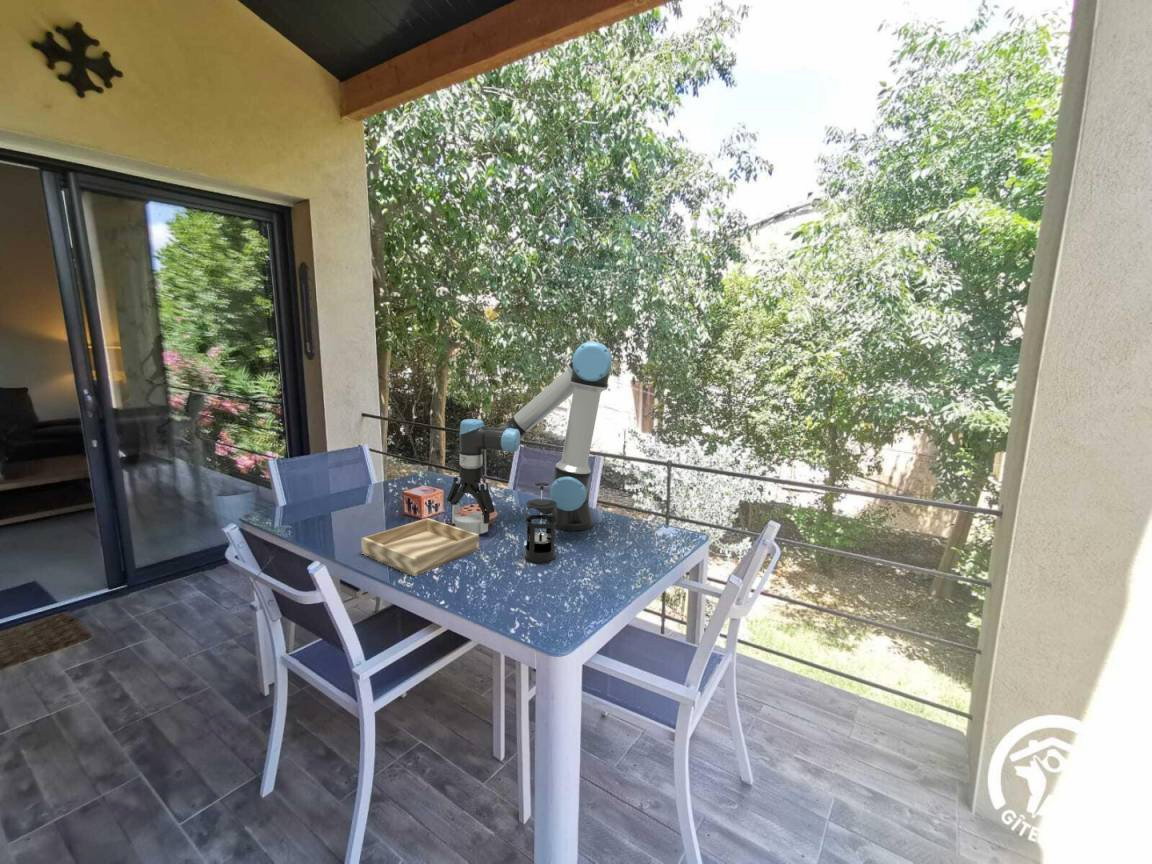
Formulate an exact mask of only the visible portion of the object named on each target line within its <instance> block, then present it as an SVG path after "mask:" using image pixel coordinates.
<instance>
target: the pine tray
mask: <svg viewBox="0 0 1152 864" xmlns="http://www.w3.org/2000/svg"><path fill="white" fill-rule="evenodd" d="M360 542H361V555H362V554H364V555H363V556H365V555H366V556H365V557H367V556H369V557H371V558H370V559H372V558H373V559H372V560H374V559H375V561H376V560H377V562H379V563H381V564H383V563H384V565H385V566H388V567H390V566H391V568H392V567H393V569H395V570H397V571H399V570H400V572H402V573H404V572H405V573H404V574H406V573H407V574H406V575H409V574H410V575H409V576H411V575H412V577H413V576H415V577H417V576H420V575H422V574H425V573H427V572H430V571H431V569H432V570H434V569H436V567H437V568H439V567H442V566H443V565H446V564H448V563H450V562H453V561H456V560H459V559H461V558H463V557H465V556H468V555H470V554H473V553H474V552H478V551H479V549H480V534H476V533H473V532H469V531H466V530H463V529H460V528H457V527H456V526H455V525H452V524H447V523H445V522H442V521H438V520H435V519H432V518H429V517H426V518H423V519H420V520H416V521H412V522H409V523H406V524H403V525H399V526H396V527H392V528H389V529H387V530H382V531H380V532H377V533H373V534H370V535H366V536H363V537H361V538H360ZM369 557H368V558H369ZM441 565H442V566H441ZM426 571H427V572H426ZM424 572H425V573H424ZM421 573H422V574H421ZM419 574H420V575H419Z"/></svg>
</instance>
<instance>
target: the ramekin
mask: <svg viewBox="0 0 1152 864" xmlns="http://www.w3.org/2000/svg"><path fill="white" fill-rule="evenodd" d="M472 512H473V513H472V514H469V515H466V516H461V514H462V513H463V512H460V514H457V515H455V516H454V521H455V524H454V527H457V528H460V529H463V530H466V531H469V532H473V533H476V534H479V535H481V534H482V533H480V530H481V514H482V513H483V512H482V511H472Z"/></svg>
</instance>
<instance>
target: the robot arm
mask: <svg viewBox="0 0 1152 864" xmlns="http://www.w3.org/2000/svg"><path fill="white" fill-rule="evenodd" d="M612 363H613V357H612V353H611V351H610V350H609V348H608V347H607V346H605V345H604V344H603V343H601V342H598V341H587V342H584V343H582V344H580V345H579V346H578V347H577V349H576V350H575V351H574V354H573V356H572V361H570V363H568V364H567V369H566V370H565V371H563V372H562V373H561V374H560V375H559V376H558V377H556V378H555V379H554V380H553V381H552V382H551V383H550V384H548V386H546V387H545V388H544V389H543V390H542V391H540V393H537V395H535V397H534V398H532V399H531V400H530V401H529V402H527V404H525V405H524V406H523V407H522V408H521V409H520V410H518V411H517V412H516V413H514V415H513V416H512V417H510V418H509V419H508V420H507V421H506V422H505V423H503V424H502V425H501V426H499V427H494V426H492V427H491V426H485V424H484V421H483V420H481V419H474V418H468V419H463V420H461V422H460V426H459V470H458V471H459V472H458V476H456V477H453V481H452V486H451V488H450V490H449V492H448V496H447V498H446V501H447V502H449V503H450V505H451V511H450V512H451V514H452V515H451V516H452V517H451V518H452V520H451V524H453V525H455V521H454V516H455V515H457V514H458V513H459V512H460V513H461V508H460V507H461V504H460V500H461V499H462V498H463V496H464V495H465V494H469V495H471V496H472V497H473V498H475V499H474V500H475V501H476V503H477V504H478V506H479V509H480V510H481V511H480V512H481V513H482V514H481V530H480V533H481V534H485V533H487V532H489V523H490V514H492V513H493V514H494V513H495V512H496V511H495V507H494V503H493V500H492V498H491V494H490V492H489V483H487V482H486V483H482V482H481V479H482V477H483V463H484V462H483V461H484V460H483V457H484V456H483V454H484V452H483V451H484V450H487V451H499V452H505V453H507V452H517V451H518V450H519V449H520V445H521V438H523V436H525V435H526V434H527V433H528V432H529V431H530V430H532V429H533V428H534V427H535V426H537V424H539V423H541V421H543V419H545V418H546V417H547V416H549V414H551V412H553V411H555V410H556V409H557V408H558V407H559V406H560V405H562V404H563V402H565V401H566V400H567V399H568V398H569V397H570V396H572V399H571V404H570V409H569V416H568V420H567V425H566V426H567V427H566V432H565V438H564V444H563V449H562V455H561V459H560V460H559V461H558V462H557V463H556V464H555V468H554V473H553V478H552V483H551V485H550V487H549V497H550V500H552V501H555V502H556V503H557V505H556V506H555V512H553V513H551V515H555V518H556V525H555V529H557V528H558V529H557V530H561V529H562V530H561V531H566V530H569V531H570V532H577V531H576V530H581V531H585V530H584V529H586V530H588V529H587V528H589V529H590V527H591V526H592V525H593V524H594V517H593V516H592V515H593V514H592V511H591V506H590V503H589V502H590V483H591V481H590V478H591V472H592V470H591V464H590V463H589V458H590V452H591V447H592V443H593V436H594V431H595V426H596V421H597V416H598V409H599V405H600V399H601V398H600V397H601V394H602V392H603V391H605V390H607V388H608V383H609V379H610V378H609V377H610V371H611V368H612ZM592 527H593V526H592ZM592 527H591V528H592ZM569 531H568V532H569Z"/></svg>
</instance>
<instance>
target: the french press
mask: <svg viewBox="0 0 1152 864" xmlns="http://www.w3.org/2000/svg"><path fill="white" fill-rule="evenodd" d="M549 485H550V483H548V482H544V481H541V482H539V481H538V482H535V483H534V486H536V487H539V489H540V498H538V499H537V498H536V499H531V500H528V501H526V503H525V505H526V506H527V511H529V510H530V509H535V510H537V511H539V512H540V514H533V515H528V516H527V517H526V518H525V525H526V545H525V548H524V558H523V559H524V560H525V561H526V562H527V563H530V564H534V563H535V565H544V564H543V563H547V564H549V563H548V562H551V561H553V560H554V561H555V560H556V559H555V558H557V556H556V545H555V539H556V538H555V536H556V532H555V531H556V528H555V525H556V518H555V515H552V513H553V512H555V506H556V505H557V503H556V502H555V501H552V500H551V499H546V498H543V491H544V487H548V486H549ZM532 520H540V521H539V522H540V523H533V522H532ZM543 520H546V523H544V524H542V521H543ZM536 529H539V531H540V532H538V531H537V532H536ZM543 529H545V532H543V531H542V530H543ZM554 561H553V562H554ZM551 563H552V562H551Z"/></svg>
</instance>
